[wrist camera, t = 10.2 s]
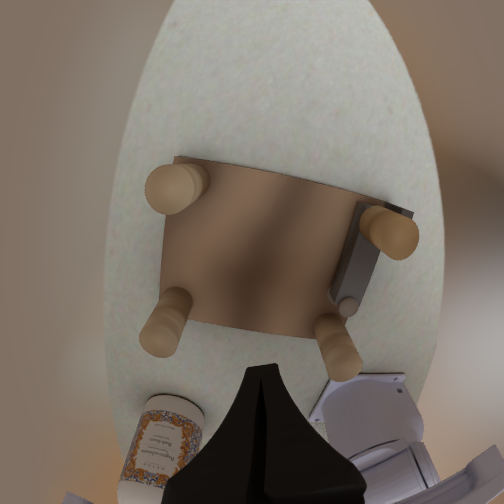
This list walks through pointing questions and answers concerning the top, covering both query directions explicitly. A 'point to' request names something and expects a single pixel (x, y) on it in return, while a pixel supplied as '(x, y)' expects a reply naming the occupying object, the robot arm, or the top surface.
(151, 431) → the bath foam
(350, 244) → the grey bar with knob
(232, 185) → the stool board
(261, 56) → the top surface
